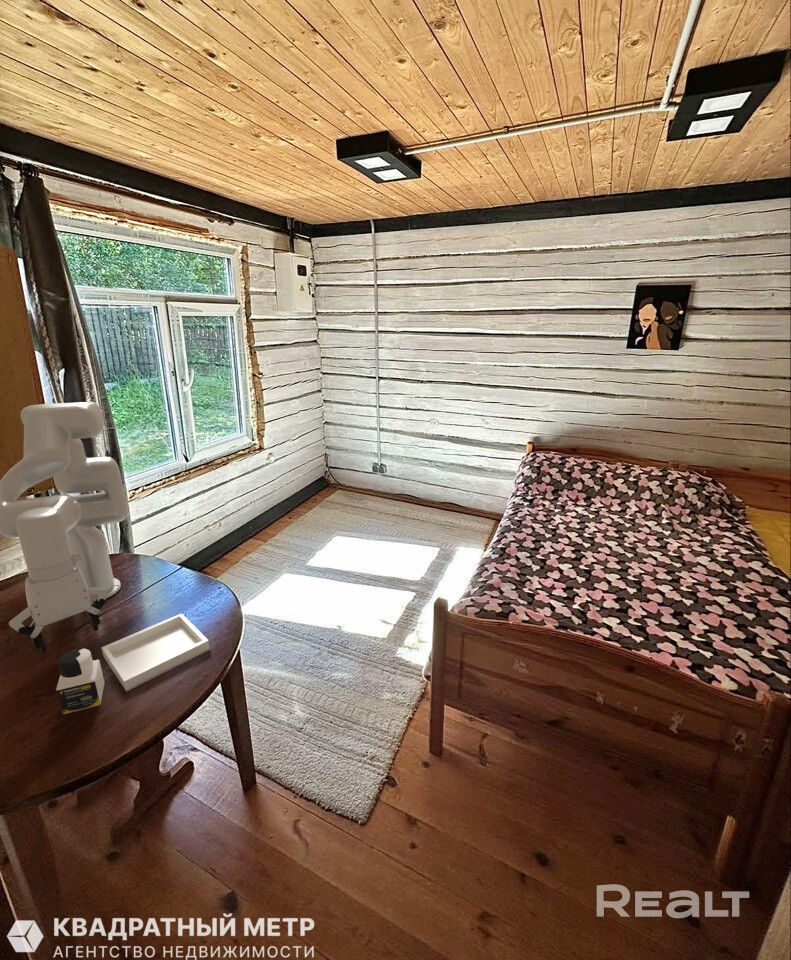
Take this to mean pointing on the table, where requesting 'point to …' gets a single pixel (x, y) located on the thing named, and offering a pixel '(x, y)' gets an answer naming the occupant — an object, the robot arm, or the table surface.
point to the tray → (154, 651)
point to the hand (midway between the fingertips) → (69, 638)
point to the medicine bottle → (79, 681)
